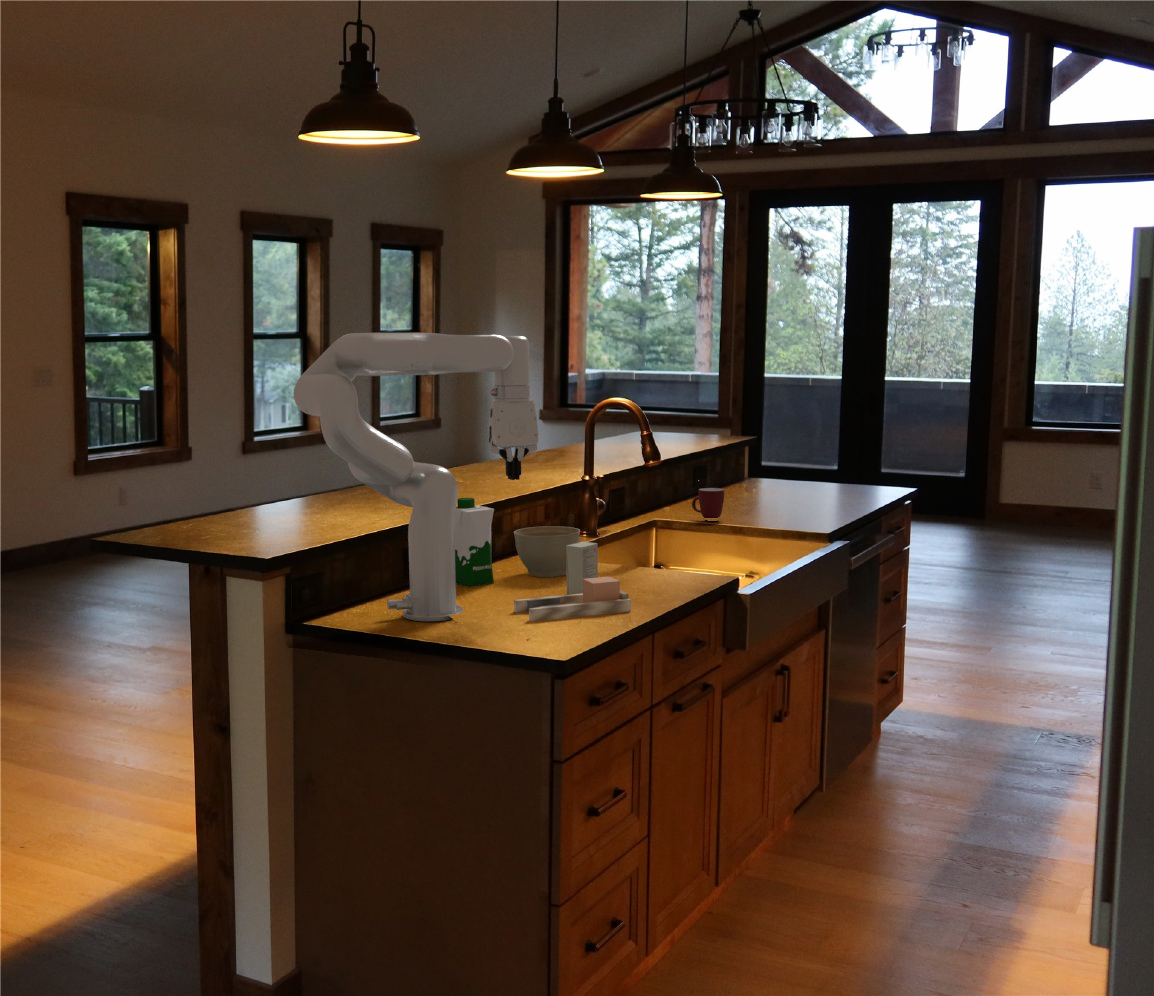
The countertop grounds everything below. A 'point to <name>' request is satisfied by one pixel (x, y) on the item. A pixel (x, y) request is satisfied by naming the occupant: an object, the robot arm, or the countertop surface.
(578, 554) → the skincare box
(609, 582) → the block
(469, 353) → the robot arm
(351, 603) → the countertop surface
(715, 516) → the mug
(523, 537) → the planter bowl
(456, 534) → the milk carton
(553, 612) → the chute
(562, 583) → the countertop surface
